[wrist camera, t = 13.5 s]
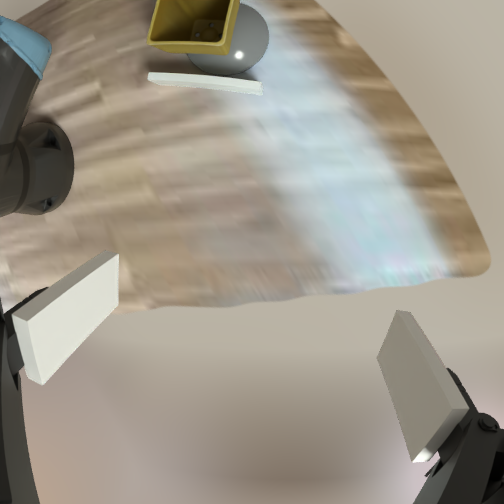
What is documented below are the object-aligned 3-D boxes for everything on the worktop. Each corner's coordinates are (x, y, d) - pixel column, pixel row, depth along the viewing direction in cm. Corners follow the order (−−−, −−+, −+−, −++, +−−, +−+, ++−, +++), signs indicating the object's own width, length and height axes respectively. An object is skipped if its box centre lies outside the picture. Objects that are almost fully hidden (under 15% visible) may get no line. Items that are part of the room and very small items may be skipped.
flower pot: (184, 7, 33) (162, -20, 24) (248, 9, 33) (238, -22, 24) (172, 63, 36) (144, 44, 27) (236, 67, 35) (223, 46, 27)
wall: (159, 85, 38) (147, 79, 34) (160, 78, 37) (148, 72, 33) (262, 95, 37) (259, 90, 33) (263, 88, 37) (261, 82, 33)
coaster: (178, 72, 37) (177, 70, 36) (195, 3, 33) (194, 1, 32) (261, 80, 36) (260, 79, 36) (275, 9, 33) (275, 7, 32)
